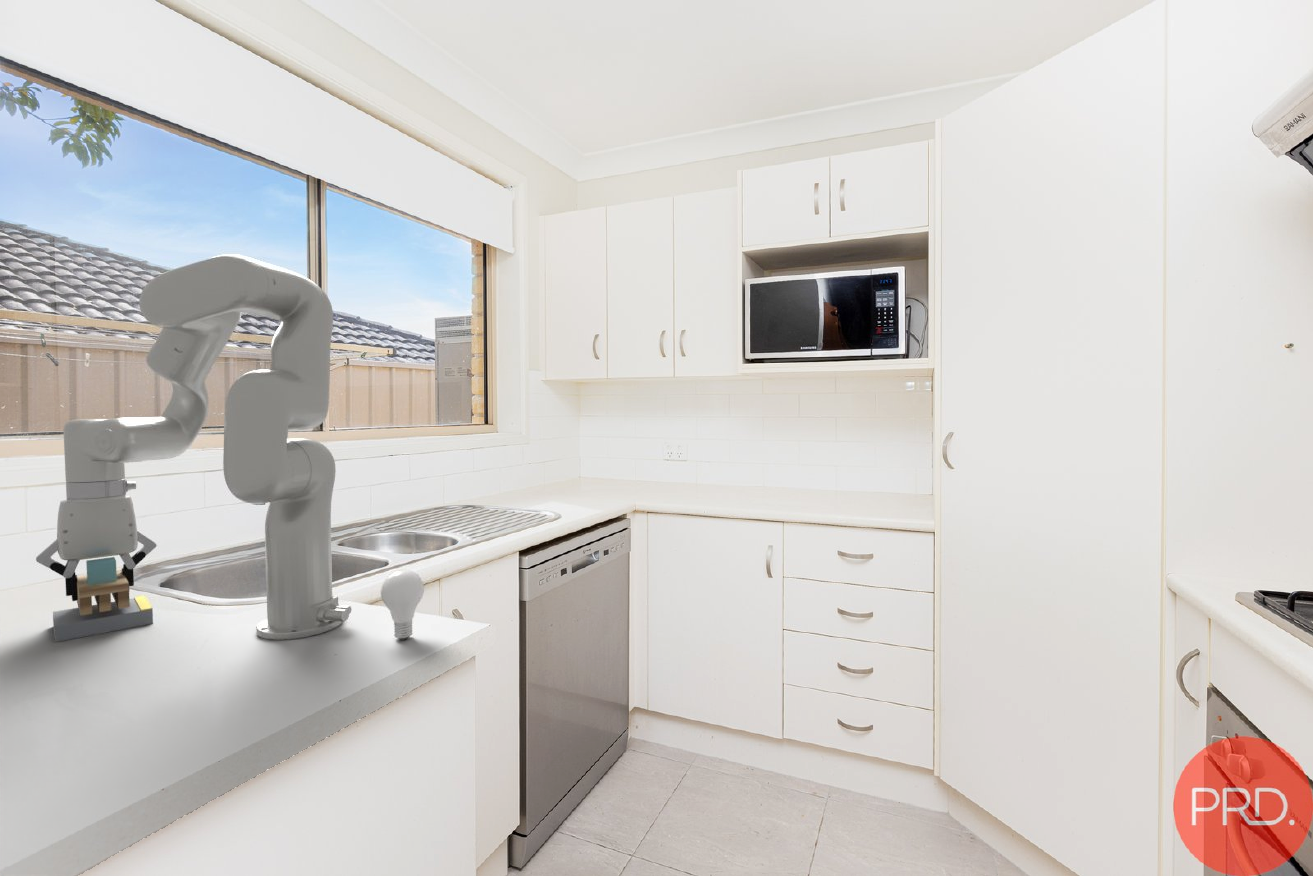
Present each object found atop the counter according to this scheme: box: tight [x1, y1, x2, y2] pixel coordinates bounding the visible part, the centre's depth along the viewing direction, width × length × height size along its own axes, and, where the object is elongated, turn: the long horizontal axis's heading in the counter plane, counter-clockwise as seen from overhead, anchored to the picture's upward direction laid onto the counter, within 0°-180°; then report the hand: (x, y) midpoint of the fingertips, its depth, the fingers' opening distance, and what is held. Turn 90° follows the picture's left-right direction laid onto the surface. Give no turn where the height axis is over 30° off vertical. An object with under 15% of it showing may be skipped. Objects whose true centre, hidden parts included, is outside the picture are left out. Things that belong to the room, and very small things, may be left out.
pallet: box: [76, 569, 130, 616], centre depth 105 cm, size 12×6×4 cm, turn 45°
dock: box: [52, 595, 154, 643], centre depth 105 cm, size 10×12×3 cm
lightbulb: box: [380, 569, 425, 640], centre depth 98 cm, size 6×6×11 cm
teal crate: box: [85, 556, 117, 585], centre depth 104 cm, size 4×4×4 cm
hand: (100, 594), depth 107 cm, fingers closed on pallet, 5 cm apart
